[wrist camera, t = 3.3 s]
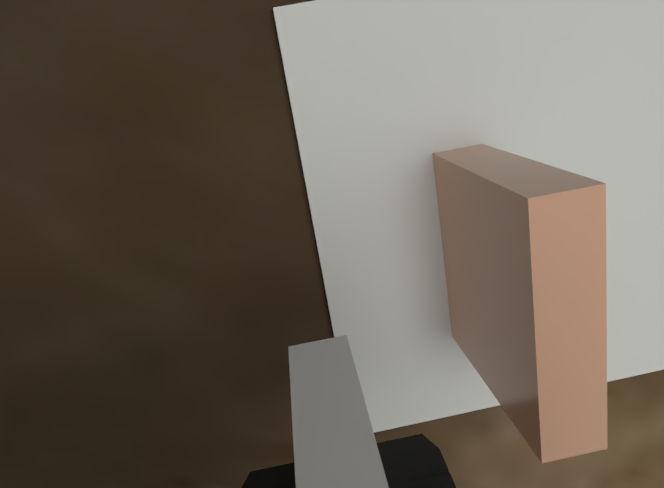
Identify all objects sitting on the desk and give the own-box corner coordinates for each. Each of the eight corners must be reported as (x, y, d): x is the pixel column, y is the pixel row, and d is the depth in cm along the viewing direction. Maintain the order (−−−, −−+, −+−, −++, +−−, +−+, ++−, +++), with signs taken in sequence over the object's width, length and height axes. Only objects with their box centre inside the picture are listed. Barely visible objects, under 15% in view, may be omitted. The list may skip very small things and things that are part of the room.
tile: (452, 336, 23) (542, 463, 16) (432, 153, 21) (527, 198, 13) (502, 325, 23) (615, 446, 16) (488, 142, 21) (615, 181, 13)
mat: (351, 428, 25) (353, 437, 24) (272, 9, 19) (273, 7, 18) (757, 340, 26) (767, 346, 25) (796, -80, 20) (812, -85, 20)
